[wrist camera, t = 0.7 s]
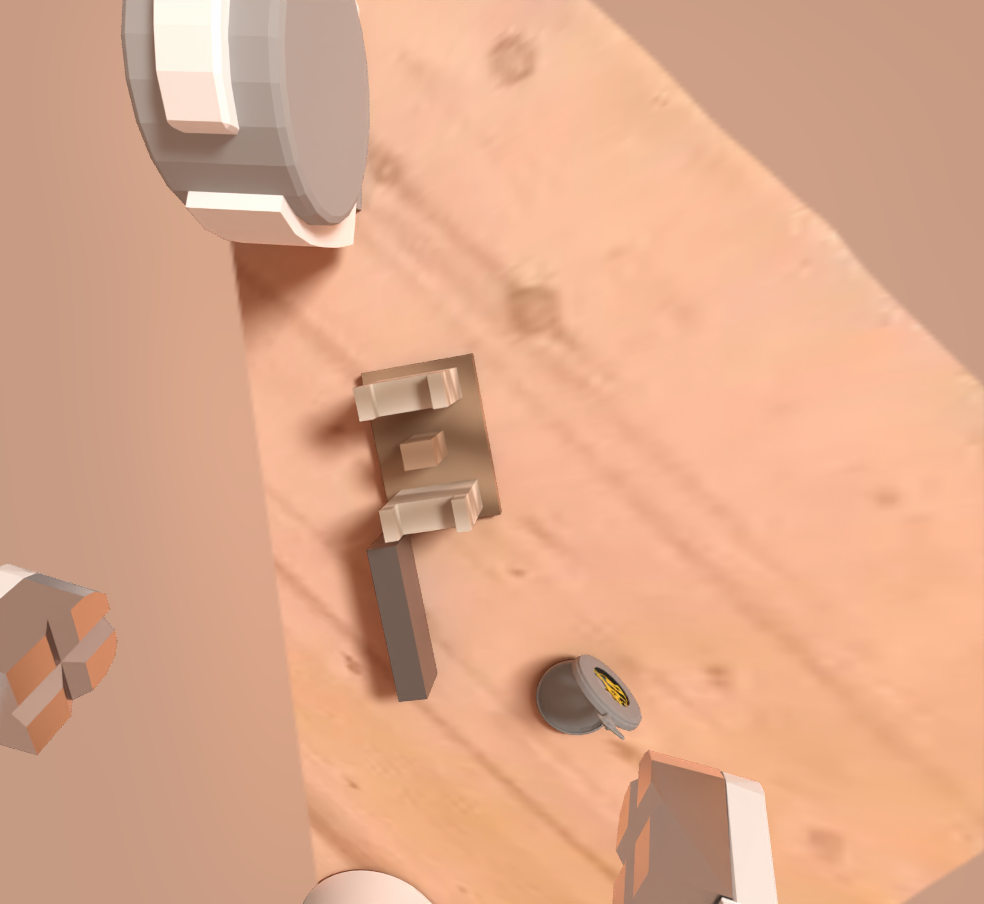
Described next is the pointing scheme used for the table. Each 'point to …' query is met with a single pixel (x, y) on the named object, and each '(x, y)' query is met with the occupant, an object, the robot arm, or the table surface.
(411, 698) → the long grey beam
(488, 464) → the display stand
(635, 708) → the pocket watch
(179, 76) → the alarm clock
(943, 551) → the table surface
